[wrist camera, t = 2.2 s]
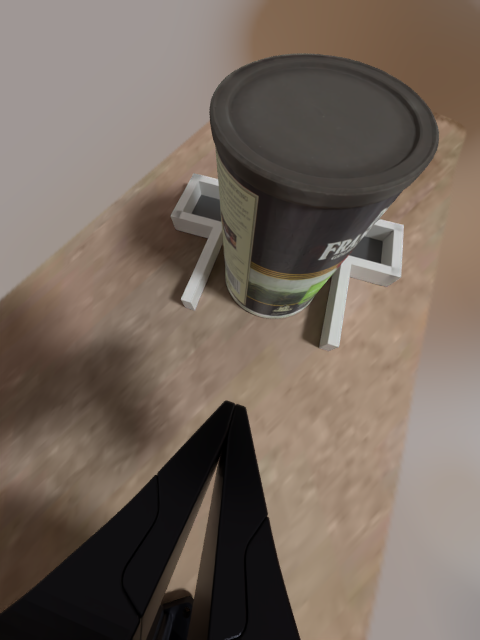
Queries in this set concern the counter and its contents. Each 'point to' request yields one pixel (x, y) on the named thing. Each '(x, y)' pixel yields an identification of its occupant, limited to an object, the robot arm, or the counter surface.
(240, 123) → the coffee can
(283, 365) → the counter surface
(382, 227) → the trap channel
